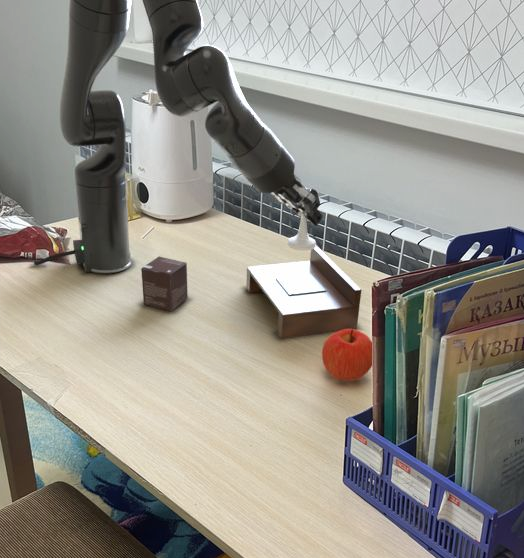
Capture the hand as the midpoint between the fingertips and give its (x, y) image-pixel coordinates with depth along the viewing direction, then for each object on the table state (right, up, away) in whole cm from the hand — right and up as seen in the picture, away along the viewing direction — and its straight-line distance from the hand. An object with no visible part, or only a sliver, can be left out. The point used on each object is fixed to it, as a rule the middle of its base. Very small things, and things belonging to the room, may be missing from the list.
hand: (312, 218), depth 118 cm
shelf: (-2, -15, +8) cm, 17 cm away
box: (-26, -14, +8) cm, 31 cm away
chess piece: (-2, -5, +1) cm, 5 cm away
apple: (+4, -27, -11) cm, 29 cm away
